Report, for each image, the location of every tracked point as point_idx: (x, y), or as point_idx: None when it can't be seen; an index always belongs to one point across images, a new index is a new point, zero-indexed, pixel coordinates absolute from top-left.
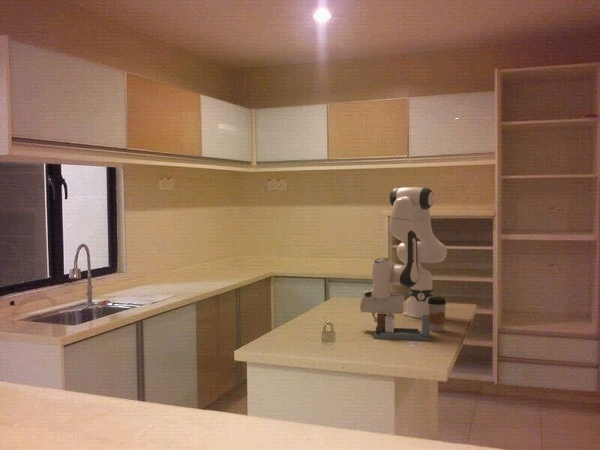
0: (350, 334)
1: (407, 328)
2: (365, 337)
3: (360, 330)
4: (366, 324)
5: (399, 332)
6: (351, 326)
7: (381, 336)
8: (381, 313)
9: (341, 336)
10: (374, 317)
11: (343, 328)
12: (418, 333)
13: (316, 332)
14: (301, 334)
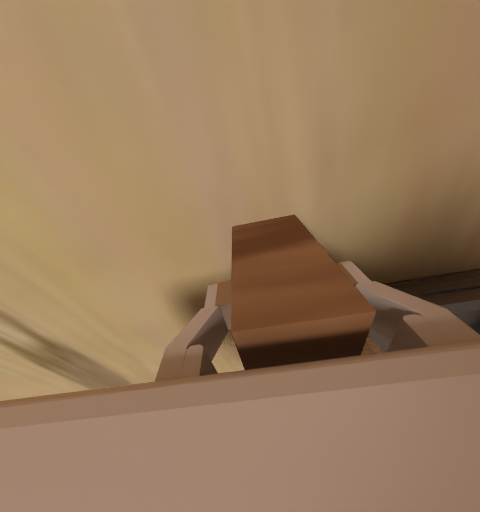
0: (161, 357)
1: (451, 306)
2: (234, 368)
3: (154, 298)
4: (30, 64)
5: (378, 335)
6: (15, 225)
7: None
8: (291, 338)
9: (152, 379)
10: (216, 343)
11: (37, 291)
12: (476, 324)
13: (27, 372)
14: (21, 395)
